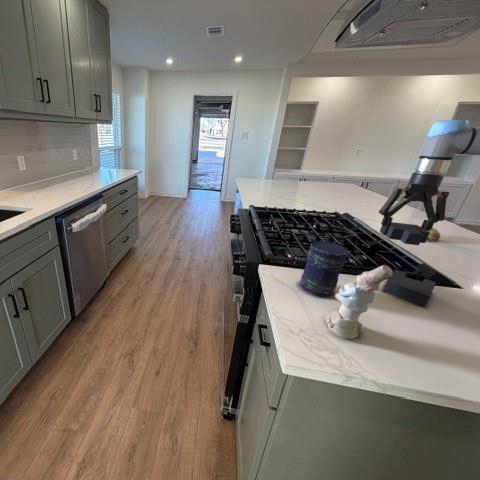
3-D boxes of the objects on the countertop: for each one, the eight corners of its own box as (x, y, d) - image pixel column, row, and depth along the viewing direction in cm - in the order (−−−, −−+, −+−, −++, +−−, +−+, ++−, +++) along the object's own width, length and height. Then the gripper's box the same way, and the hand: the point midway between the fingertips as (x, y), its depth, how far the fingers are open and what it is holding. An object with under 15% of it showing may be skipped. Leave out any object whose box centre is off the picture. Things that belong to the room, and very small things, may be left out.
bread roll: (408, 243, 128) (415, 232, 123) (408, 230, 134) (416, 219, 128) (435, 248, 123) (444, 237, 118) (434, 234, 129) (443, 223, 123)
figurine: (369, 343, 62) (402, 272, 54) (332, 338, 63) (359, 268, 55) (351, 319, 70) (377, 254, 62) (318, 314, 71) (340, 250, 63)
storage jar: (299, 277, 89) (310, 238, 83) (331, 285, 85) (345, 244, 79) (299, 292, 81) (311, 250, 75) (335, 301, 77) (351, 257, 71)
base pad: (430, 292, 82) (436, 282, 81) (424, 307, 75) (430, 296, 74) (391, 279, 89) (395, 269, 88) (382, 291, 82) (387, 281, 81)
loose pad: (412, 235, 93) (416, 224, 91) (430, 247, 83) (436, 235, 81) (379, 231, 96) (383, 221, 94) (393, 242, 86) (398, 231, 84)
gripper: (465, 173, 82) (434, 237, 90) (381, 169, 88) (360, 228, 97) (483, 177, 75) (448, 245, 84) (391, 172, 82) (367, 235, 91)
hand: (401, 236), depth 91 cm, fingers closed on loose pad, 10 cm apart
